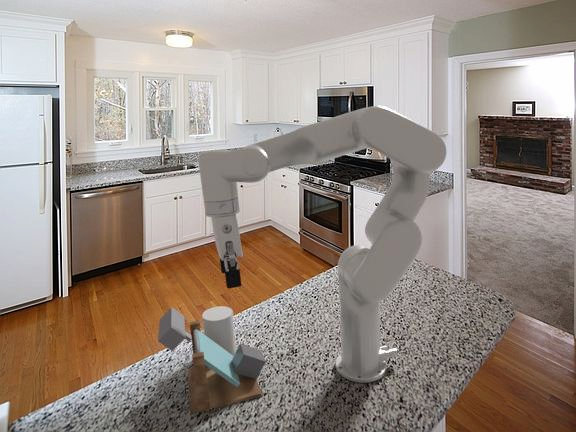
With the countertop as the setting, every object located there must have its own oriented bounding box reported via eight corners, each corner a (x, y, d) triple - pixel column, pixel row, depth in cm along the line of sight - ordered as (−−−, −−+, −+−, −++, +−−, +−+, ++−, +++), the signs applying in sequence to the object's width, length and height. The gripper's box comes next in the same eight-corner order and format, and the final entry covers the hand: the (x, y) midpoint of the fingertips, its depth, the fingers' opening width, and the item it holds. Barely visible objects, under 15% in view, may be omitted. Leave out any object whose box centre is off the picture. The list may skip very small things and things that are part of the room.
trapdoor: (224, 363, 98) (235, 351, 98) (231, 394, 86) (243, 381, 86) (159, 317, 90) (171, 304, 91) (157, 344, 79) (171, 330, 79)
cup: (242, 351, 105) (238, 311, 102) (218, 365, 99) (214, 323, 96) (223, 341, 110) (220, 303, 108) (200, 354, 104) (196, 314, 102)
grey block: (231, 360, 94) (252, 367, 96) (234, 372, 89) (256, 379, 91) (240, 343, 94) (261, 350, 96) (243, 354, 89) (265, 361, 91)
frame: (249, 358, 101) (245, 312, 98) (261, 396, 86) (258, 344, 83) (188, 371, 97) (182, 323, 94) (190, 414, 82) (183, 359, 79)
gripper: (245, 211, 76) (254, 290, 80) (233, 198, 92) (240, 264, 96) (208, 217, 74) (218, 297, 78) (202, 202, 90) (211, 269, 94)
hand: (231, 279), depth 87 cm, fingers open, 9 cm apart
